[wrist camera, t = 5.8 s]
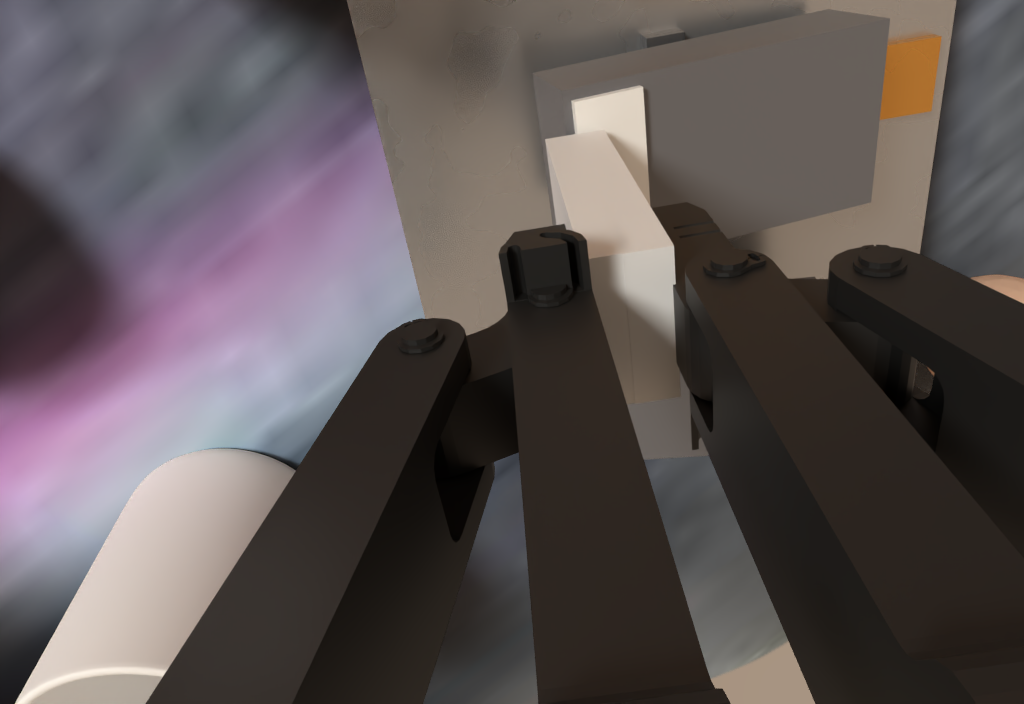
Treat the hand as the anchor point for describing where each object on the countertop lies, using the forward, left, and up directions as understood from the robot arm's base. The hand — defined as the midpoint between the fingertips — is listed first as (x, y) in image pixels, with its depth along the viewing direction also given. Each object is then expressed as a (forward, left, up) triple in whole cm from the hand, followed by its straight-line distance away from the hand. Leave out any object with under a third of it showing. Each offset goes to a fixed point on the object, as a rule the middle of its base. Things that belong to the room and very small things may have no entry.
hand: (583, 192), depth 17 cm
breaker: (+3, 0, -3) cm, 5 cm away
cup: (-17, -15, -8) cm, 24 cm away
